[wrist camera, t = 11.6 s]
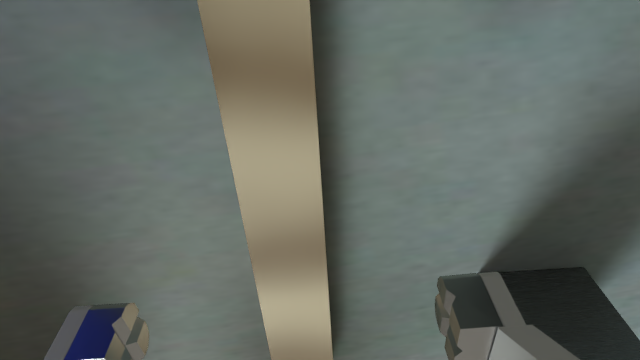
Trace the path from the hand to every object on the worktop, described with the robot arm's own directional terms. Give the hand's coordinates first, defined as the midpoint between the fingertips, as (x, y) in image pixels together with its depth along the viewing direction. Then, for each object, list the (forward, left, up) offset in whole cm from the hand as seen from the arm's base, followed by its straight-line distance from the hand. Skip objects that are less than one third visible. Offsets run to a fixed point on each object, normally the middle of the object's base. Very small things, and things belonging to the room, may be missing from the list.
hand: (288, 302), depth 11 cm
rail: (+1, 0, -7) cm, 7 cm away
